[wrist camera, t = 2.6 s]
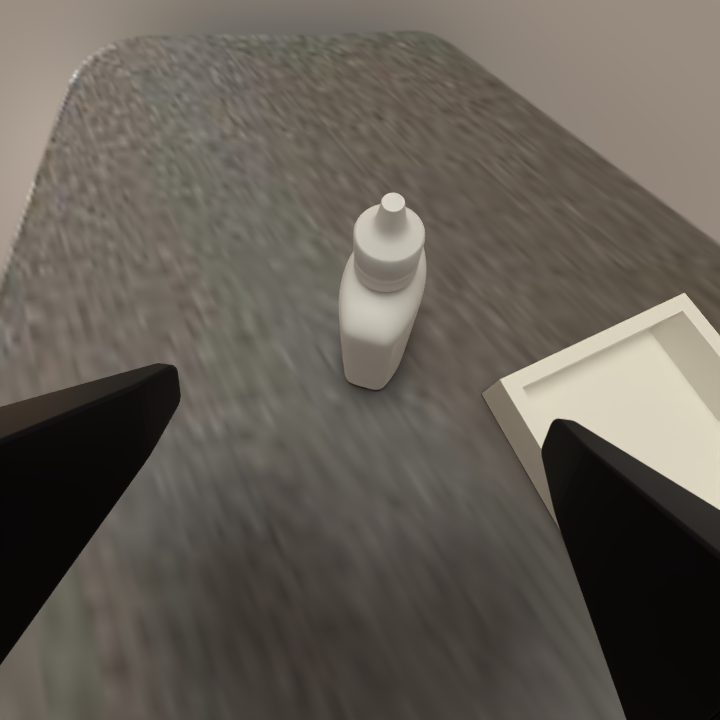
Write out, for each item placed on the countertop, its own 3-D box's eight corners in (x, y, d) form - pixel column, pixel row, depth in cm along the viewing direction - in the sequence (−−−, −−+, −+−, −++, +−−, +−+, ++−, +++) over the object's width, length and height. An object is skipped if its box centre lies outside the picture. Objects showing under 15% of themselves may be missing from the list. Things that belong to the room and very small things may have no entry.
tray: (784, 499, 20) (854, 501, 17) (603, 606, 19) (648, 627, 16) (645, 316, 24) (684, 292, 21) (481, 393, 22) (499, 379, 19)
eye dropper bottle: (434, 338, 23) (508, 190, 12) (368, 403, 22) (381, 308, 10) (381, 292, 24) (403, 114, 13) (315, 352, 23) (273, 214, 11)
